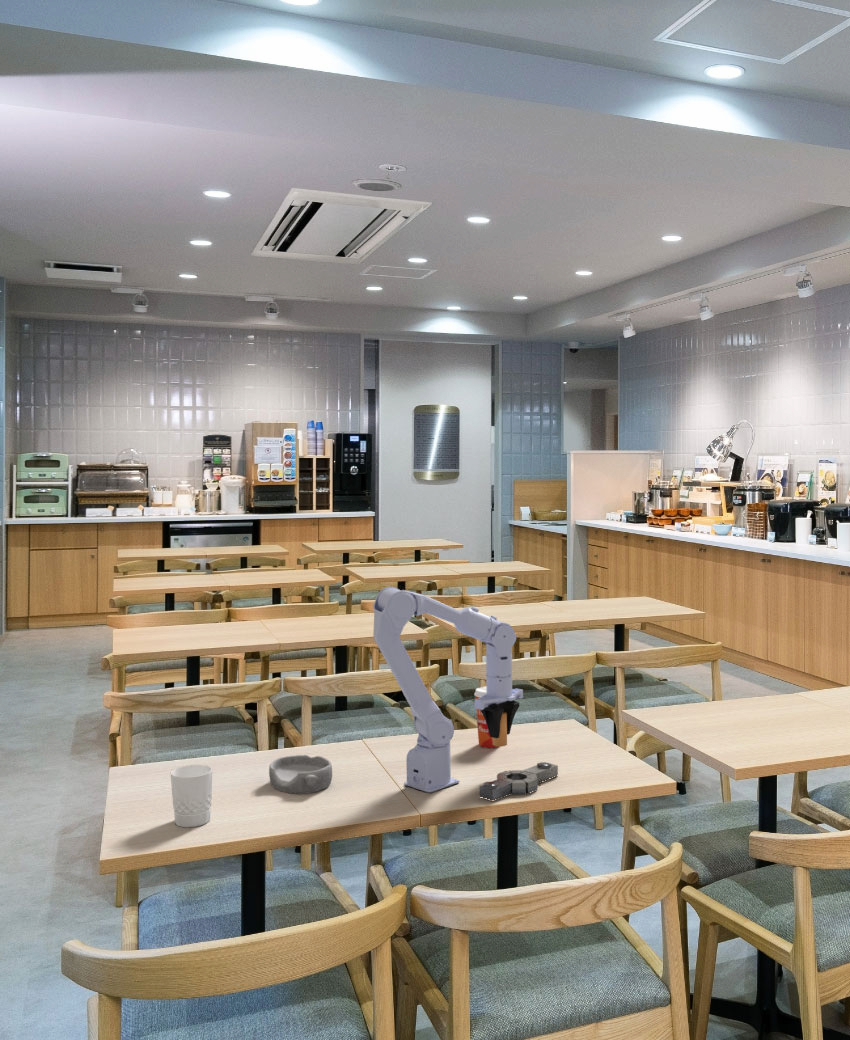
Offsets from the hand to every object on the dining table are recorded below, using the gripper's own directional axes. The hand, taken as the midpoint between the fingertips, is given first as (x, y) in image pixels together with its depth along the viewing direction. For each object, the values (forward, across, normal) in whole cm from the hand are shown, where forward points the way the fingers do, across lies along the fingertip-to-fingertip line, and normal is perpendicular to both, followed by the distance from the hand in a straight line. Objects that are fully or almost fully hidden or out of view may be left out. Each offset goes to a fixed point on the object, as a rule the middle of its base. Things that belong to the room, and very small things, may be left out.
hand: (499, 735), depth 203 cm
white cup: (+9, -62, +27) cm, 68 cm away
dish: (+9, -34, +28) cm, 45 cm away
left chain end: (+9, -7, -8) cm, 14 cm away
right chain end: (+9, 0, -8) cm, 12 cm away
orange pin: (+2, 0, 0) cm, 2 cm away
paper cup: (+9, +16, +17) cm, 25 cm away
